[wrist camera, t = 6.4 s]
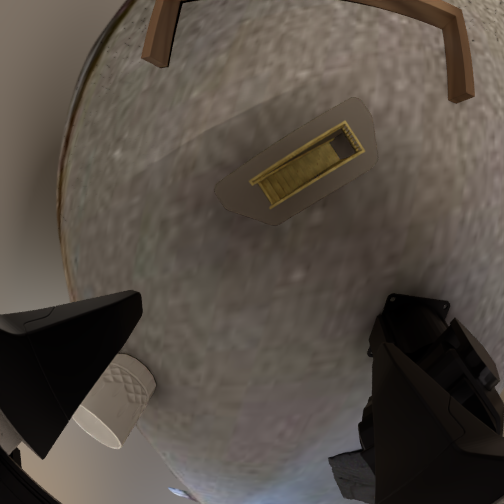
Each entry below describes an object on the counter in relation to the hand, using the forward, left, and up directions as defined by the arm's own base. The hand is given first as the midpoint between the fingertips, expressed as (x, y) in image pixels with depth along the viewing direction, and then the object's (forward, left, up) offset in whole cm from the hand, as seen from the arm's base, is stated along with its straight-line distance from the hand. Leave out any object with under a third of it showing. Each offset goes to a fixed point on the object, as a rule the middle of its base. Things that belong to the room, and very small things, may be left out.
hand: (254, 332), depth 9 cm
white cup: (+16, +20, -12) cm, 28 cm away
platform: (-1, -5, -12) cm, 14 cm away
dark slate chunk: (-22, +34, -13) cm, 42 cm away
